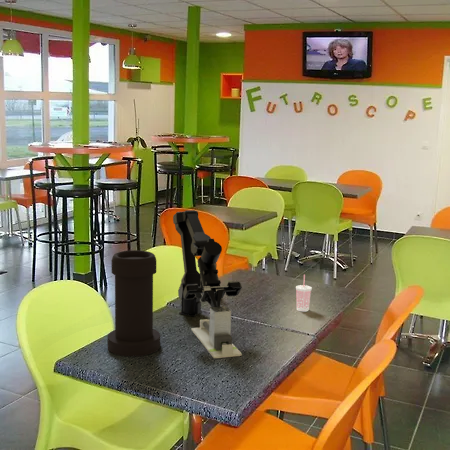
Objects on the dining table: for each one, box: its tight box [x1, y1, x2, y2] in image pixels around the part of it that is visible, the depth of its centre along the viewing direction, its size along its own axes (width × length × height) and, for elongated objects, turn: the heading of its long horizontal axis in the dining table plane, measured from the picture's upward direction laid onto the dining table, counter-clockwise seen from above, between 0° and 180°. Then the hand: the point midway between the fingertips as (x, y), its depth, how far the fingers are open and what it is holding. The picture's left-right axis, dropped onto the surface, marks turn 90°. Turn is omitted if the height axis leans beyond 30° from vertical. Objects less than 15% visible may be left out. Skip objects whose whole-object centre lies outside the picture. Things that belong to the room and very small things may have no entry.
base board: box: [190, 318, 243, 359], centre depth 199 cm, size 26×9×3 cm, turn 19°
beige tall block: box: [209, 305, 232, 347], centre depth 194 cm, size 5×5×12 cm
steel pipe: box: [203, 322, 227, 347], centre depth 199 cm, size 23×2×2 cm, turn 19°
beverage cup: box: [295, 274, 313, 312], centre depth 235 cm, size 6×6×14 cm
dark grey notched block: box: [214, 334, 233, 350], centre depth 192 cm, size 2×5×4 cm, turn 109°
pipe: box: [107, 249, 161, 357], centre depth 191 cm, size 16×16×30 cm
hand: (217, 313), depth 196 cm, fingers closed, pressing on beige tall block
